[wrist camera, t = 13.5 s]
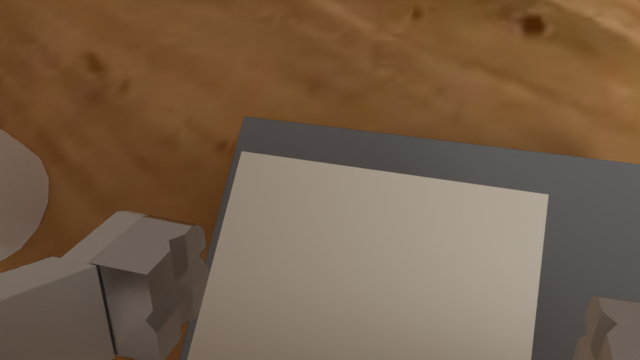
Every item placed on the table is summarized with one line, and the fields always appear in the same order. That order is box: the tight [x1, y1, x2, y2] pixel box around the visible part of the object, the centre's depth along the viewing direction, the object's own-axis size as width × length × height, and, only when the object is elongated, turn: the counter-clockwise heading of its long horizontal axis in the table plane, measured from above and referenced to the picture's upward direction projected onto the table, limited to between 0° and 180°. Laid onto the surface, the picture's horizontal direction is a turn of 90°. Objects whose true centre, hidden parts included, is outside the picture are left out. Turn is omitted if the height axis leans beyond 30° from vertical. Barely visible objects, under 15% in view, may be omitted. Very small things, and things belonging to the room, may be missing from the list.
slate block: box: [179, 116, 640, 360], centre depth 17 cm, size 12×12×5 cm
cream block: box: [187, 151, 549, 360], centre depth 11 cm, size 4×4×8 cm
